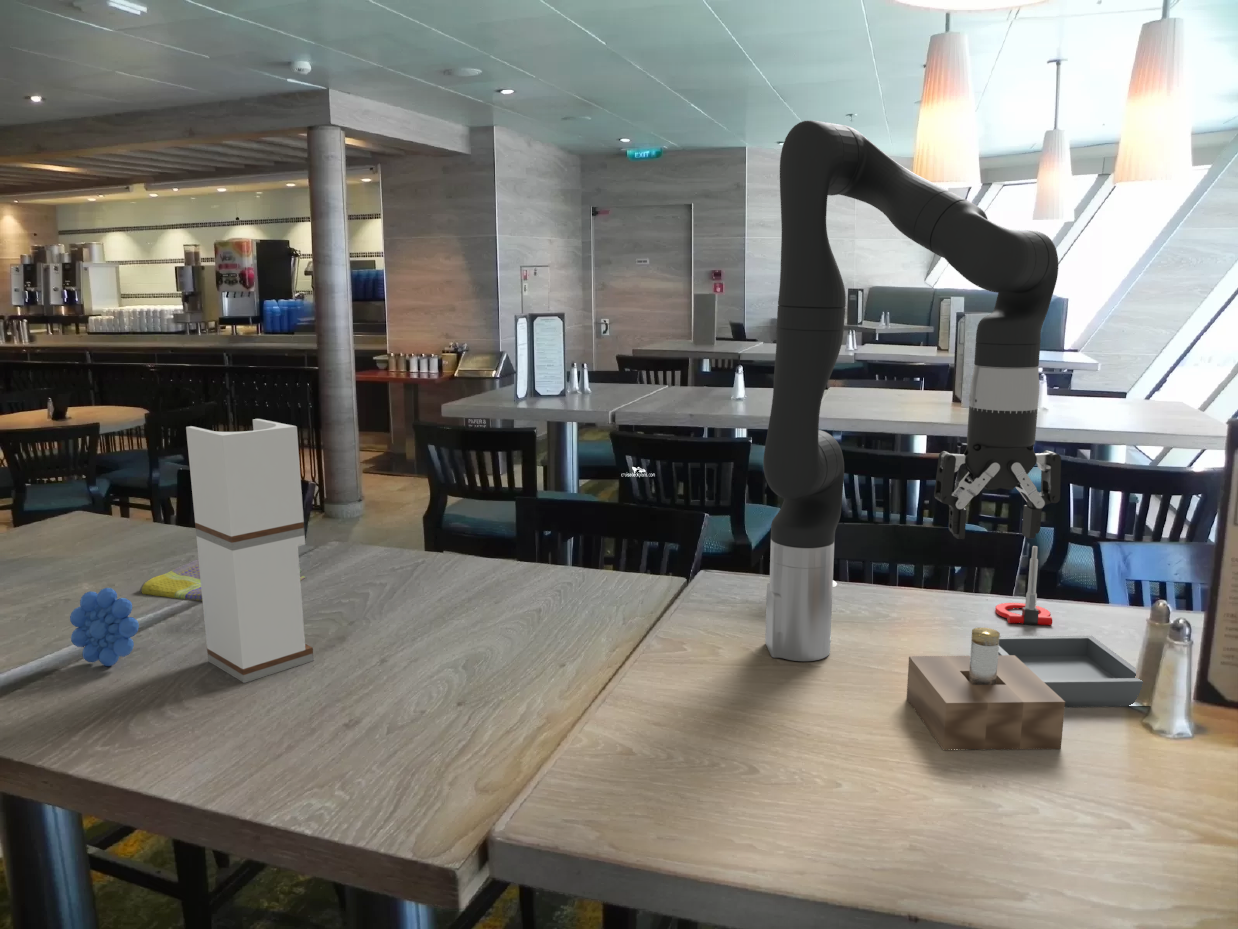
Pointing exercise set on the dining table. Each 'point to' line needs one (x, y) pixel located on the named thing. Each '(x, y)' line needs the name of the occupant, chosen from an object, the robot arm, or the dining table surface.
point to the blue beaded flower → (103, 626)
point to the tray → (1077, 669)
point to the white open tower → (250, 547)
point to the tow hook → (1027, 602)
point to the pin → (984, 656)
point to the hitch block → (984, 705)
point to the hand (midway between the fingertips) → (993, 537)
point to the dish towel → (178, 583)
